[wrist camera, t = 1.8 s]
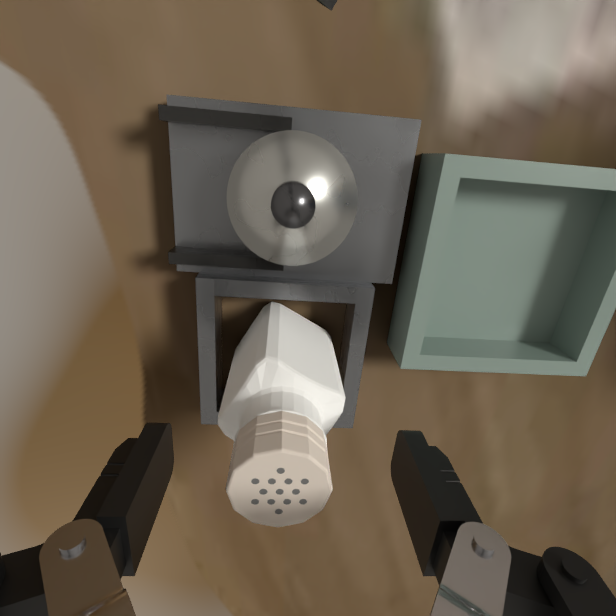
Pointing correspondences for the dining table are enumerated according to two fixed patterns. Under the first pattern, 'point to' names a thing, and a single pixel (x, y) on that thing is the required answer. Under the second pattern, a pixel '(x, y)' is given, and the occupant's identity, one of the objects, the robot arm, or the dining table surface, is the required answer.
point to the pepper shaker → (281, 418)
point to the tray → (506, 267)
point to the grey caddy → (286, 216)
